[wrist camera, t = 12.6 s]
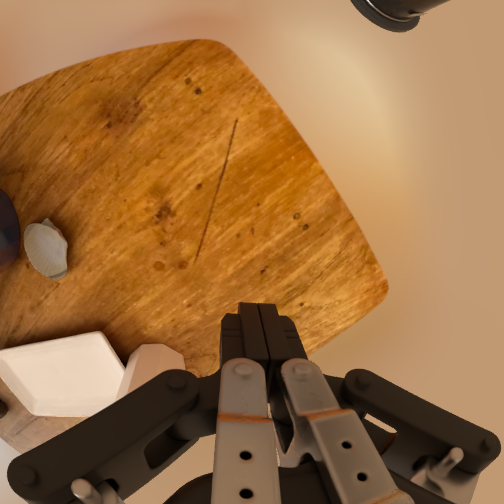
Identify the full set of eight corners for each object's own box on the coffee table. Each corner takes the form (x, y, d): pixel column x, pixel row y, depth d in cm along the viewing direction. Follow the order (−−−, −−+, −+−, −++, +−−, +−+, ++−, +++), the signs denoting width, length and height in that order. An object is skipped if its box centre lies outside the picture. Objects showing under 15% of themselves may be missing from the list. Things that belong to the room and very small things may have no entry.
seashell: (31, 238, 31) (56, 287, 32) (16, 243, 28) (41, 294, 29) (57, 203, 29) (85, 257, 30) (39, 206, 26) (68, 264, 27)
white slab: (159, 398, 40) (156, 414, 37) (38, 405, 40) (32, 416, 37) (107, 315, 34) (99, 330, 31) (-9, 343, 34) (-17, 353, 31)
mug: (120, 351, 36) (101, 400, 27) (168, 334, 36) (157, 387, 27) (163, 402, 41) (156, 449, 31) (209, 389, 40) (209, 440, 31)
